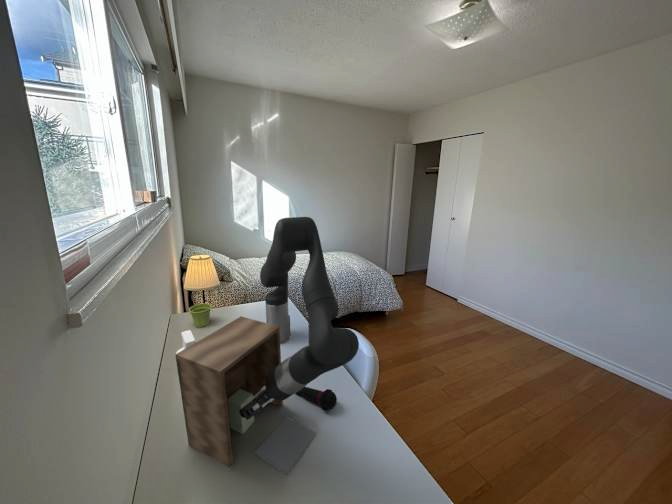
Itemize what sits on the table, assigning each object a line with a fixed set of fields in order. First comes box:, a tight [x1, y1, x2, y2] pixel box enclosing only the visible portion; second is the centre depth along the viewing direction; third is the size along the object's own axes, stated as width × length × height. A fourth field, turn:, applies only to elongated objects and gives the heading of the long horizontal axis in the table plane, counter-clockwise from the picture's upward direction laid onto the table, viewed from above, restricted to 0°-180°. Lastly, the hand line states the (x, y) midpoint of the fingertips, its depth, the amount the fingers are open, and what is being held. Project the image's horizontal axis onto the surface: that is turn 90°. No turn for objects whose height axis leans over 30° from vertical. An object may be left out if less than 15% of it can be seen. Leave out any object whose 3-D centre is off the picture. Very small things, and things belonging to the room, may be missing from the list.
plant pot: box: [188, 303, 212, 328], centre depth 127 cm, size 9×9×9 cm
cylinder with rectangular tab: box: [175, 329, 196, 354], centre depth 98 cm, size 9×9×12 cm
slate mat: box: [254, 417, 317, 476], centre depth 69 cm, size 12×10×1 cm
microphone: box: [295, 386, 338, 411], centre depth 85 cm, size 6×6×20 cm
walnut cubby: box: [175, 316, 284, 468], centre depth 72 cm, size 14×21×26 cm, turn 156°
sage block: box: [227, 389, 255, 435], centre depth 74 cm, size 4×4×9 cm
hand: (253, 401), depth 71 cm, fingers open, 8 cm apart
